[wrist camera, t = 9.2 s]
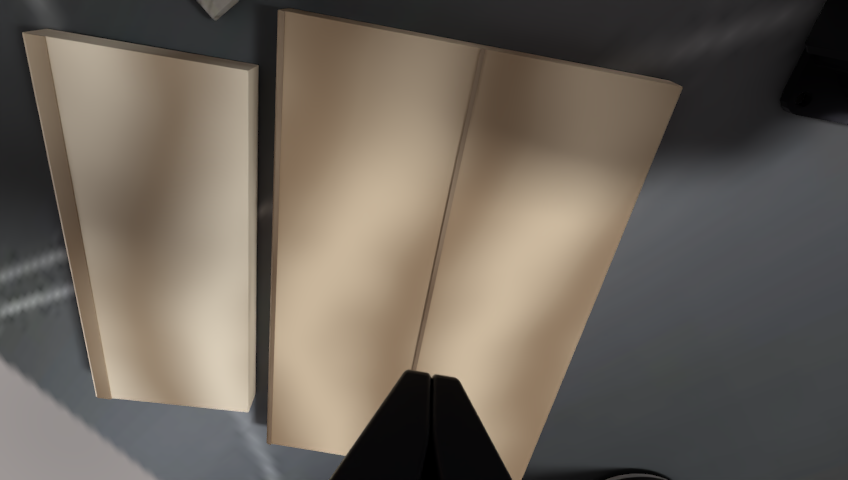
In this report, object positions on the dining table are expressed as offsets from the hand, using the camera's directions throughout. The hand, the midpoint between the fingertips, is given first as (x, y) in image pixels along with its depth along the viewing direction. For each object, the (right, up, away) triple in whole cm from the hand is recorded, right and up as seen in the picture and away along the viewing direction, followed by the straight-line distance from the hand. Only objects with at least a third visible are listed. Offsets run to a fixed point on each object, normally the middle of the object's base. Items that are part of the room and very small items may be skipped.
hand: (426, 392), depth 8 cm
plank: (-11, +2, +13) cm, 17 cm away
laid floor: (0, 0, +13) cm, 13 cm away
